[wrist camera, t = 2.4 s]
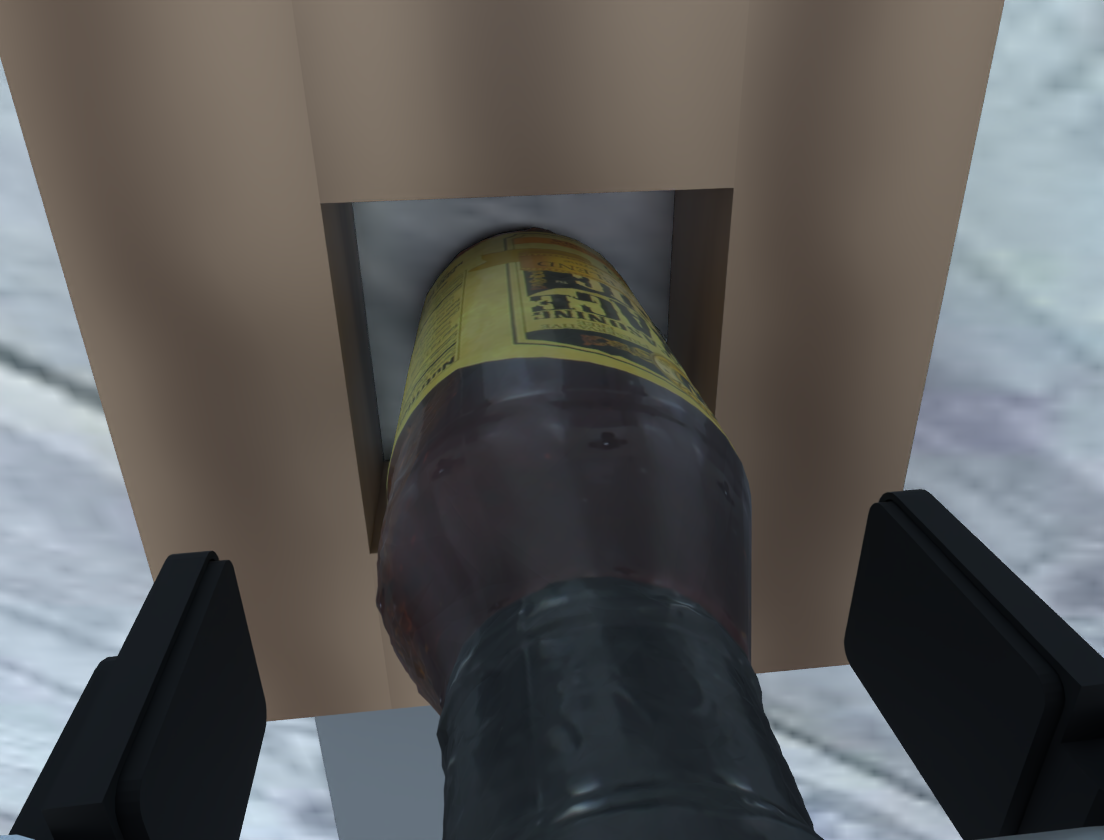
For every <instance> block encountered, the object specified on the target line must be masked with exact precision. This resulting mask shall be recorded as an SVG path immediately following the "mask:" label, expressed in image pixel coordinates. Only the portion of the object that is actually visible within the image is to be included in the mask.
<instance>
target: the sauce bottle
mask: <svg viewBox="0 0 1104 840" xmlns="http://www.w3.org/2000/svg"><path fill="white" fill-rule="evenodd" d="M751 559H752V503H751V492H750V487H749V481H748V478H747V475H746V473H745V470H744V467H743V464H742V462H741V460H740V458H739V456H738V455H737V453H736V451H735V449H734V447H733V445H732V444H731V442H730V441H729V439H728V438H727V436H726V435H725V433H724V432H723V430H722V429H721V427H720V425H719V423H718V421H717V419H716V418H715V416H714V415H713V413H712V412H711V411H710V409H709V408H708V406H707V405H706V403H705V402H704V400H703V399H702V398H701V396H700V393H699V392H698V391H697V389H696V388H695V387H694V386H693V384H692V383H691V381H690V380H689V378H688V376H687V374H686V373H685V371H684V369H683V367H682V366H681V364H680V363H679V361H678V360H677V358H676V357H675V355H674V354H673V353H672V352H671V350H670V348H669V346H668V345H667V344H666V342H665V340H664V339H663V337H662V335H661V334H660V332H659V330H658V328H657V327H656V326H655V325H654V324H653V323H652V322H651V320H650V318H649V317H648V315H647V314H646V312H645V311H644V309H643V308H642V307H641V305H640V304H639V302H638V301H637V299H636V298H635V296H634V295H633V293H632V292H631V290H630V289H629V287H628V286H627V284H626V283H625V281H624V280H623V278H622V277H621V276H620V274H619V273H618V272H617V271H616V270H615V268H614V267H613V266H612V265H611V264H610V263H609V262H608V261H607V260H606V259H605V258H603V257H602V256H601V255H600V254H599V253H598V252H596V251H595V250H593V249H591V248H590V247H588V246H586V245H584V244H582V243H581V242H579V241H577V240H574V239H572V238H569V237H566V236H562V235H558V234H555V233H553V232H551V231H549V230H544V229H540V228H531V229H527V230H524V231H516V232H509V233H504V234H498V235H495V236H493V237H491V238H487V239H485V240H483V241H481V242H479V243H476V244H474V245H472V246H470V247H469V248H467V249H465V250H463V251H462V252H460V253H459V254H458V255H457V256H456V257H455V258H454V259H453V260H452V262H451V263H450V264H449V266H448V267H447V268H446V269H445V270H444V271H443V272H442V273H441V275H440V276H439V277H438V279H437V280H436V282H435V283H434V285H433V286H432V288H431V289H430V291H429V292H428V294H427V296H426V299H425V302H424V306H423V309H422V313H421V317H420V321H419V326H418V330H417V335H416V340H415V344H414V349H413V354H412V357H411V361H410V365H409V370H408V375H407V380H406V385H405V390H404V395H403V400H402V405H401V410H400V415H399V420H398V425H397V430H396V434H395V439H394V444H393V449H392V454H391V458H390V463H389V468H388V476H387V508H386V512H385V516H384V519H383V523H382V528H381V537H380V540H379V546H378V560H377V577H378V588H377V595H376V606H377V608H378V610H379V612H380V614H381V616H382V620H383V624H384V627H385V629H386V631H387V633H388V635H389V638H390V643H391V645H392V646H393V650H394V652H395V654H396V656H397V657H398V659H399V661H400V662H401V664H402V666H403V667H404V669H405V671H406V672H407V673H408V674H409V677H410V678H411V679H412V681H413V682H414V683H415V684H416V686H417V690H418V693H419V694H420V695H421V696H422V697H423V698H424V699H425V700H426V701H427V702H428V703H429V704H430V705H431V706H432V707H433V708H434V709H435V711H436V712H437V713H438V714H439V715H440V719H439V724H438V729H437V733H436V735H437V738H438V742H439V745H440V748H441V757H442V769H443V772H444V775H445V783H444V815H443V838H442V840H824V839H823V838H821V837H820V836H819V835H818V834H816V833H815V831H814V828H813V823H812V821H811V819H810V816H809V814H808V812H807V810H806V808H805V805H804V802H803V799H802V797H801V794H800V792H799V790H798V788H797V785H796V783H795V780H794V777H793V775H792V773H791V771H790V768H789V766H788V764H787V762H786V760H785V759H784V757H783V755H782V752H781V749H780V746H779V744H778V742H777V740H776V738H775V736H774V734H773V732H772V730H771V728H770V724H769V721H768V719H767V717H766V715H765V713H764V710H763V704H762V691H761V688H760V684H759V681H758V678H757V676H756V674H755V672H754V670H753V668H752V666H751Z"/></svg>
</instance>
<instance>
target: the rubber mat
mask: <svg viewBox="0 0 1104 840" xmlns="http://www.w3.org/2000/svg"><path fill="white" fill-rule="evenodd" d="M439 719H440V715H439V714H438V713H437V712H436V711H435V709H434V708H433V707H432V706H431V705H429V706H419V707H409V708H398V709H388V710H378V711H368V712H357V713H347V714H337V715H327V716H317V717H315V722H316V727H317V731H318V736H319V741H320V746H321V751H322V756H323V761H324V766H325V771H326V776H327V781H328V786H329V791H330V796H331V801H332V806H333V811H334V816H335V821H336V826H337V831H338V836H339V840H442V838H443V815H444V783H445V775H444V772H443V769H442V757H441V748H440V745H439V742H438V738H437V735H436V733H437V729H438V724H439Z"/></svg>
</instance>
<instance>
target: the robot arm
mask: <svg viewBox="0 0 1104 840" xmlns="http://www.w3.org/2000/svg"><path fill="white" fill-rule="evenodd" d="M844 649H845V654H846V657H847V660H848V662H849V664H850V666H851V667H852V669H853V670H854V672H855V673H856V675H857V676H858V678H859V679H860V681H861V683H862V684H863V686H864V687H865V689H866V690H867V692H868V693H869V695H870V697H871V698H872V700H873V701H874V703H875V704H876V706H877V707H878V709H879V710H880V712H881V714H882V715H883V717H884V718H885V720H886V721H887V723H888V724H889V726H890V727H891V729H892V731H893V732H894V734H895V735H896V737H897V738H898V740H899V741H900V743H901V744H902V746H903V748H904V749H905V751H906V752H907V754H908V755H909V757H910V758H911V760H912V761H913V763H914V765H915V766H916V768H917V769H918V771H919V772H920V774H921V775H922V777H923V778H924V780H925V782H926V783H927V785H928V786H929V788H930V789H931V791H932V792H933V794H934V795H935V797H936V799H937V800H938V802H939V803H940V805H941V806H942V808H943V809H944V811H945V812H946V814H947V816H948V817H949V819H950V820H951V822H952V823H953V825H954V826H955V828H956V830H957V831H958V833H959V834H960V836H961V837H962V839H963V840H1104V658H1103V657H1102V656H1101V655H1100V654H1099V653H1097V652H1096V651H1095V650H1094V649H1093V648H1092V647H1091V646H1090V645H1089V644H1088V643H1087V642H1086V641H1085V640H1084V639H1083V638H1082V637H1081V636H1080V635H1079V634H1078V633H1076V632H1075V631H1074V630H1073V629H1072V628H1071V627H1070V626H1069V625H1068V624H1067V623H1066V622H1065V621H1064V620H1063V619H1062V618H1061V617H1060V616H1059V615H1058V614H1056V613H1055V612H1054V611H1053V610H1052V609H1051V608H1050V607H1049V606H1048V605H1047V604H1046V603H1045V602H1044V601H1043V600H1042V599H1041V598H1040V597H1039V596H1038V595H1036V594H1035V593H1034V592H1033V591H1032V590H1031V589H1030V588H1029V587H1028V586H1027V585H1026V584H1025V583H1024V582H1023V581H1022V580H1021V579H1020V578H1019V577H1018V576H1017V575H1015V574H1014V573H1013V572H1012V571H1011V570H1010V569H1009V568H1008V567H1007V566H1006V565H1005V564H1004V563H1003V562H1002V561H1001V560H1000V559H999V558H998V557H997V556H995V555H994V554H993V553H992V552H991V551H990V550H989V549H988V548H987V547H986V546H985V545H984V544H983V543H982V542H981V541H980V540H979V539H978V538H977V537H976V536H974V535H973V534H972V533H971V532H970V531H969V530H968V529H967V528H966V527H965V526H964V525H963V524H962V523H961V522H960V521H959V520H958V519H957V518H956V517H954V516H953V515H952V514H951V513H950V512H949V511H948V510H947V509H946V508H945V507H944V506H943V505H942V504H941V503H940V502H939V501H938V500H937V499H936V498H934V497H933V496H932V495H931V494H930V493H929V492H927V491H926V490H922V489H917V490H906V491H894V492H886V493H884V494H883V495H882V496H881V498H880V499H879V502H878V503H874V504H872V506H871V507H870V509H869V513H868V518H867V523H866V528H865V533H864V538H863V544H862V549H861V554H860V559H859V564H858V569H857V575H856V580H855V585H854V590H853V595H852V600H851V605H850V611H849V616H848V621H847V626H846V631H845V636H844ZM266 720H267V709H266V701H265V696H264V692H263V688H262V683H261V679H260V675H259V671H258V667H257V663H256V658H255V654H254V650H253V646H252V642H251V637H250V633H249V629H248V625H247V621H246V617H245V612H244V608H243V604H242V600H241V596H240V591H239V587H238V583H237V579H236V575H235V571H234V567H233V564H232V562H231V561H230V560H219V558H218V555H217V554H216V552H214V551H202V552H190V553H179V554H171V555H169V556H168V557H167V559H166V560H165V562H164V564H163V566H162V568H161V570H160V572H159V574H158V576H157V578H156V580H155V582H154V584H153V586H152V588H151V590H150V592H149V594H148V596H147V598H146V600H145V602H144V604H143V606H142V608H141V610H140V612H139V614H138V616H137V618H136V620H135V622H134V624H133V626H132V628H131V630H130V632H129V634H128V636H127V638H126V640H125V642H124V644H123V646H122V648H121V650H120V652H119V654H118V656H114V657H107V658H106V659H104V660H102V661H101V662H100V663H99V665H98V666H97V668H96V669H95V671H94V672H93V674H92V676H91V678H90V680H89V682H88V684H87V686H86V688H85V690H84V692H83V693H82V695H81V697H80V699H79V701H78V703H77V705H76V707H75V709H74V711H73V713H72V714H71V716H70V718H69V720H68V722H67V724H66V726H65V728H64V730H63V732H62V734H61V735H60V737H59V739H58V741H57V743H56V745H55V747H54V749H53V751H52V753H51V755H50V756H49V758H48V760H47V762H46V764H45V766H44V768H43V770H42V772H41V774H40V776H39V777H38V779H37V781H36V783H35V785H34V787H33V789H32V791H31V793H30V795H29V797H28V798H27V800H26V802H25V804H24V806H23V808H22V810H21V812H20V814H19V816H18V818H17V819H16V821H15V823H14V825H13V827H12V829H11V831H10V833H9V835H1V836H0V840H239V837H240V833H241V829H242V825H243V821H244V816H245V812H246V808H247V804H248V800H249V795H250V791H251V787H252V783H253V779H254V775H255V770H256V766H257V762H258V758H259V754H260V749H261V745H262V741H263V737H264V733H265V728H266Z"/></svg>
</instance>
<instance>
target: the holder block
mask: <svg viewBox="0 0 1104 840" xmlns="http://www.w3.org/2000/svg"><path fill="white" fill-rule="evenodd" d="M1004 1H1005V0H0V58H1V61H2V64H3V68H4V71H5V75H6V78H7V82H8V85H9V88H10V92H11V95H12V99H13V102H14V106H15V109H16V112H17V116H18V119H19V123H20V126H21V129H22V133H23V136H24V140H25V143H26V147H27V150H28V153H29V157H30V160H31V164H32V167H33V171H34V174H35V177H36V181H37V184H38V188H39V191H40V194H41V198H42V201H43V205H44V208H45V212H46V215H47V218H48V222H49V225H50V229H51V232H52V236H53V239H54V242H55V246H56V249H57V253H58V256H59V259H60V263H61V266H62V270H63V273H64V277H65V280H66V283H67V287H68V290H69V294H70V297H71V301H72V304H73V307H74V311H75V314H76V318H77V321H78V324H79V328H80V331H81V335H82V338H83V342H84V345H85V348H86V352H87V355H88V359H89V362H90V366H91V369H92V372H93V376H94V379H95V383H96V386H97V390H98V393H99V396H100V400H101V403H102V407H103V410H104V413H105V417H106V420H107V424H108V427H109V431H110V434H111V437H112V441H113V444H114V448H115V451H116V455H117V458H118V461H119V465H120V468H121V472H122V475H123V478H124V482H125V485H126V489H127V492H128V496H129V499H130V502H131V506H132V509H133V513H134V516H135V520H136V523H137V526H138V530H139V533H140V537H141V540H142V543H143V547H144V550H145V554H146V557H147V561H148V564H149V567H150V571H151V574H152V578H153V581H154V582H155V580H156V578H157V576H158V574H159V572H160V570H161V568H162V566H163V564H164V562H165V560H166V559H167V557H168V556H169V555H171V554H179V553H190V552H202V551H214V552H216V554H217V555H218V558H219V560H230V561H231V562H232V564H233V567H234V571H235V575H236V579H237V583H238V587H239V591H240V596H241V600H242V604H243V608H244V612H245V617H246V621H247V625H248V629H249V633H250V637H251V642H252V646H253V650H254V654H255V658H256V663H257V667H258V671H259V675H260V679H261V683H262V688H263V692H264V696H265V701H266V709H267V720H266V721H276V720H286V719H296V718H306V717H317V716H327V715H337V714H347V713H357V712H368V711H378V710H388V709H398V708H409V707H419V706H429V705H430V704H429V703H428V702H427V701H426V700H425V699H424V698H423V697H422V696H421V695H420V694H419V693H418V690H417V686H416V684H415V683H414V682H413V681H412V679H411V678H410V677H409V674H408V673H407V672H406V671H405V669H404V667H403V666H402V664H401V662H400V661H399V659H398V657H397V656H396V654H395V652H394V650H393V646H392V645H391V643H390V638H389V635H388V633H387V631H386V629H385V627H384V624H383V620H382V616H381V614H380V612H379V610H378V608H377V606H376V595H377V588H378V577H377V560H378V546H379V540H380V537H381V528H382V523H383V519H384V516H385V512H386V508H387V476H388V468H389V463H390V461H384V457H383V449H382V441H381V433H380V425H379V417H378V409H377V401H376V393H375V385H374V377H373V368H372V360H371V352H370V344H369V336H368V328H367V320H366V312H365V304H364V296H363V288H362V280H361V272H360V264H359V256H358V248H357V240H356V232H355V224H354V216H353V208H352V202H370V201H397V200H423V199H450V198H476V197H503V196H529V195H556V194H582V193H609V192H636V191H662V190H675V201H674V221H673V241H672V260H671V280H670V299H669V319H668V339H667V345H668V346H669V348H670V350H671V352H672V353H673V354H674V355H675V357H676V358H677V360H678V361H679V363H680V364H681V366H682V367H683V369H684V371H685V373H686V374H687V376H688V378H689V380H690V381H691V383H692V384H693V386H694V387H695V388H696V389H697V391H698V392H699V393H700V396H701V398H702V399H703V400H704V402H705V403H706V405H707V406H708V408H709V409H710V411H711V412H712V413H713V415H714V416H715V418H716V419H717V421H718V423H719V425H720V427H721V429H722V430H723V432H724V433H725V435H726V436H727V438H728V439H729V441H730V442H731V444H732V445H733V447H734V449H735V451H736V453H737V455H738V456H739V458H740V460H741V462H742V464H743V467H744V470H745V473H746V475H747V478H748V481H749V487H750V492H751V503H752V559H751V666H752V668H753V670H754V672H755V674H757V673H767V672H777V671H788V670H798V669H808V668H818V667H829V666H839V665H849V662H848V660H847V657H846V654H845V649H844V636H845V631H846V626H847V621H848V616H849V611H850V605H851V600H852V595H853V590H854V585H855V580H856V575H857V569H858V564H859V559H860V554H861V549H862V544H863V538H864V533H865V528H866V523H867V518H868V513H869V509H870V507H871V506H872V504H874V503H878V502H879V499H880V498H881V496H882V495H883V494H884V493H886V492H894V491H903V487H904V482H905V478H906V473H907V468H908V463H909V458H910V454H911V449H912V444H913V439H914V434H915V429H916V425H917V420H918V415H919V410H920V405H921V401H922V396H923V391H924V386H925V381H926V376H927V372H928V367H929V362H930V357H931V352H932V348H933V343H934V338H935V333H936V328H937V323H938V319H939V314H940V309H941V304H942V299H943V295H944V290H945V285H946V280H947V275H948V270H949V266H950V261H951V256H952V251H953V246H954V242H955V237H956V232H957V227H958V222H959V217H960V213H961V208H962V203H963V198H964V193H965V189H966V184H967V179H968V174H969V169H970V164H971V160H972V155H973V150H974V145H975V140H976V136H977V131H978V126H979V121H980V116H981V111H982V107H983V102H984V97H985V92H986V87H987V83H988V78H989V73H990V68H991V63H992V58H993V54H994V49H995V44H996V39H997V34H998V30H999V25H1000V20H1001V15H1002V10H1003V6H1004Z"/></svg>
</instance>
